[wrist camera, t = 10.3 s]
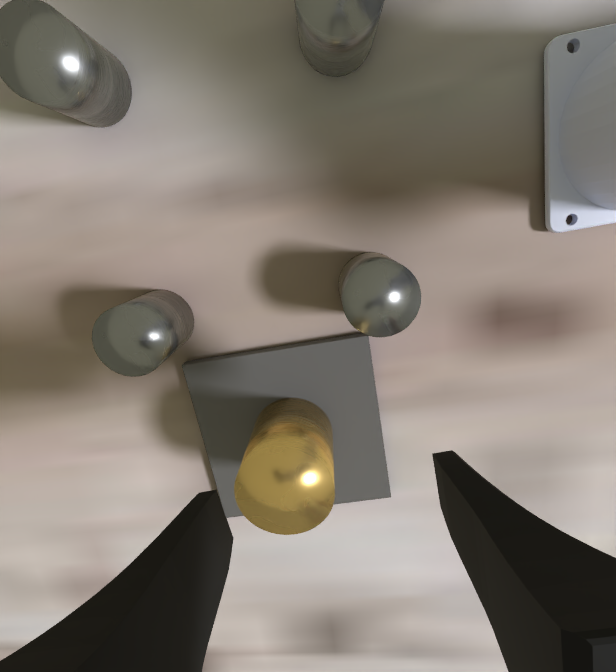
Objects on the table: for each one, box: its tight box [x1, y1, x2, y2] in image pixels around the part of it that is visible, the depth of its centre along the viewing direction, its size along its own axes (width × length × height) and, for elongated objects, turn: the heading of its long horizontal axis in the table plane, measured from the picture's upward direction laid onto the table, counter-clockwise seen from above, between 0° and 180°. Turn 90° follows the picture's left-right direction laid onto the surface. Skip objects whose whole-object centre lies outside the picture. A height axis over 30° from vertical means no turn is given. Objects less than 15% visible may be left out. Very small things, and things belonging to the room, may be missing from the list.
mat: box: [182, 333, 391, 518], centre depth 22 cm, size 10×10×1 cm
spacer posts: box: [0, 0, 421, 376], centre depth 17 cm, size 14×14×4 cm
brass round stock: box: [234, 398, 335, 535], centre depth 19 cm, size 4×4×5 cm
